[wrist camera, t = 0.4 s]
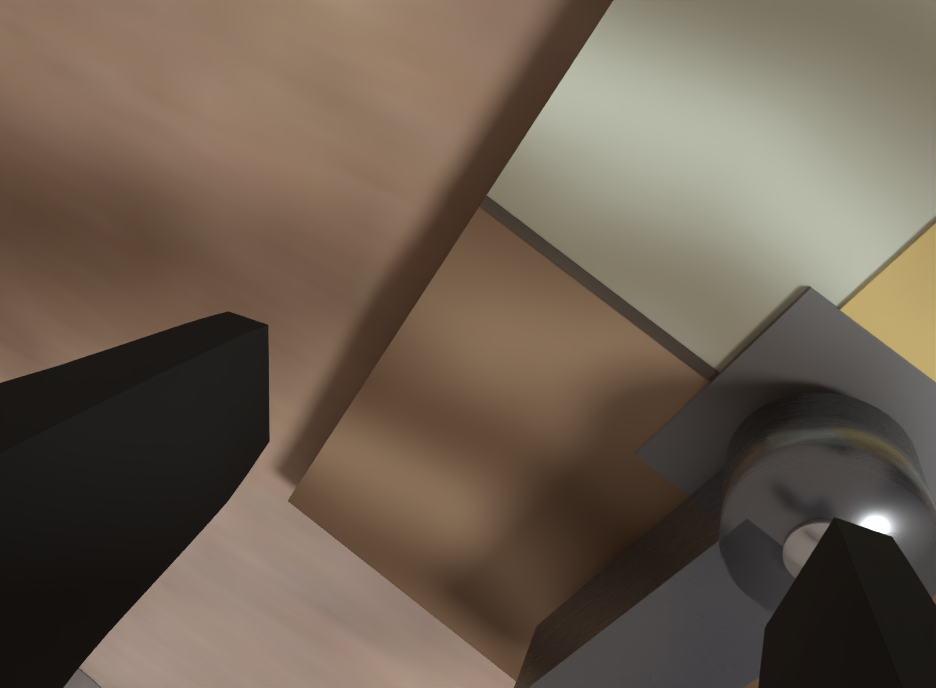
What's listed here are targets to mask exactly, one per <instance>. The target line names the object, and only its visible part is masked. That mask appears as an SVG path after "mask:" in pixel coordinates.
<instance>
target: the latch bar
mask: <svg viewBox="0 0 936 688" xmlns="http://www.w3.org/2000/svg"><path fill="white" fill-rule="evenodd" d="M834 517H836V518H839V519H842V520H845V521H848V522H851V523H854V524H857V525H860V526H863V527H866V528H869V529H871V530H874V531H877V532H880V533H883V534H886V535H889V536H892V537H893V539H894V540H895V542H896V543H897V545H898V546H899V548H900V549H901V551H902V552H903V554H904V555H905V557H906V558H907V560H908V561H909V563H910V564H911V566H912V568H913V569H914V571H915V572H916V574H917V575H918V577H919V579H920V580H921V582H922V583H923V585H924V587H925V588H926V590H927V591H928V593H929V595H930V596H931V598H932V597H933V596H934V595H935V594H936V509H935V506H934V503H933V500H932V497H931V494H930V491H929V488H928V485H927V482H926V479H925V476H924V473H923V470H922V467H921V464H920V461H919V458H918V455H917V452H916V450H915V447H914V445H913V443H912V441H911V439H910V438H909V436H908V435H907V433H906V432H905V431H904V430H903V428H902V427H901V426H900V425H899V424H898V423H897V422H896V421H895V420H894V419H892V418H891V417H890V416H889V415H888V414H886V413H885V412H883V411H881V410H880V409H878V408H877V407H875V406H873V405H871V404H869V403H866V402H864V401H861V400H858V399H856V398H852V397H848V396H844V395H839V394H832V393H802V394H797V395H791V396H787V397H784V398H780V399H777V400H775V401H772V402H770V403H768V404H766V405H764V406H762V407H760V408H759V409H757V410H756V411H754V412H753V413H752V414H750V415H749V416H748V417H747V418H746V419H745V420H744V421H743V422H742V423H741V424H740V425H739V427H738V428H737V429H736V431H735V432H734V434H733V436H732V438H731V440H730V442H729V445H728V448H727V453H726V460H725V467H723V468H722V469H721V470H720V471H719V472H717V473H716V474H715V475H714V476H713V477H712V478H710V479H709V480H708V481H707V482H706V483H705V484H703V485H702V486H701V487H700V488H699V489H697V490H696V491H695V492H694V493H693V494H692V495H690V496H689V497H688V498H687V499H686V500H684V501H683V502H682V503H681V504H680V505H679V506H677V507H676V508H675V509H674V510H673V511H671V512H670V513H669V514H668V515H667V516H666V517H664V518H663V519H662V520H661V521H660V522H659V523H657V524H656V525H655V526H654V527H653V528H651V529H650V530H649V531H648V532H647V533H646V534H644V535H643V536H642V537H641V538H640V539H638V540H637V541H636V542H635V543H634V544H633V545H631V546H630V547H629V548H628V549H627V550H625V551H624V552H623V553H622V554H621V555H620V556H618V557H617V558H616V559H615V560H614V561H613V562H611V563H610V564H609V565H608V566H607V567H605V568H604V569H603V570H602V571H601V572H600V573H598V574H597V575H596V576H595V577H594V578H592V579H591V580H590V581H589V582H588V583H587V584H585V585H584V586H583V587H582V588H581V589H579V590H578V591H577V592H576V593H575V594H574V595H572V596H571V597H570V598H569V599H568V600H566V601H565V602H564V603H563V604H562V605H561V606H559V607H558V608H557V609H556V610H555V611H554V612H552V613H551V614H550V615H549V616H548V617H546V618H545V619H544V620H543V621H542V622H541V623H539V624H538V625H537V626H536V629H535V632H534V634H533V637H532V640H531V643H530V645H529V648H528V651H527V653H526V656H525V659H524V662H523V664H522V667H521V670H520V673H519V675H518V678H517V681H516V684H515V686H514V688H743V687H744V686H746V685H748V684H749V683H751V682H753V681H754V680H756V679H758V678H759V675H760V665H761V657H762V648H763V639H764V630H765V626H766V625H767V623H768V622H769V620H770V618H771V617H772V615H773V614H774V612H775V611H776V609H777V607H778V606H779V604H780V603H781V601H782V599H783V598H784V596H785V595H786V593H787V591H788V590H789V588H790V587H791V585H792V583H793V582H794V580H795V579H796V577H797V576H798V574H799V572H800V571H801V569H802V568H803V566H804V564H805V563H806V561H807V560H808V558H809V556H810V555H811V553H812V552H813V550H814V548H815V547H816V545H817V544H818V542H819V540H820V539H821V537H822V536H823V534H824V533H825V531H826V529H827V528H828V526H829V525H830V523H831V521H832V520H833V518H834Z"/></svg>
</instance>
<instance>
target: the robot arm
mask: <svg viewBox="0 0 936 688" xmlns="http://www.w3.org/2000/svg"><path fill="white" fill-rule="evenodd" d="M268 443H269V346H268V325H267V324H264V323H261V322H258V321H255V320H252V319H249V318H246V317H243V316H240V315H237V314H234V313H231V312H225V313H221V314H217V315H213V316H209V317H206V318H202V319H199V320H196V321H193V322H189V323H186V324H183V325H180V326H177V327H174V328H171V329H168V330H165V331H162V332H159V333H156V334H153V335H150V336H147V337H144V338H141V339H138V340H135V341H132V342H129V343H126V344H123V345H120V346H117V347H114V348H111V349H108V350H105V351H102V352H99V353H96V354H93V355H89V356H86V357H83V358H80V359H77V360H74V361H71V362H68V363H65V364H62V365H59V366H56V367H53V368H49V369H46V370H43V371H39V372H36V373H32V374H29V375H26V376H22V377H19V378H15V379H12V380H9V381H5V382H2V383H0V688H64V687H65V685H66V684H67V683H68V681H69V680H70V679H71V677H72V676H73V675H74V673H75V672H76V671H77V669H78V668H79V667H80V666H81V664H82V663H83V662H84V661H85V660H86V658H87V657H88V656H89V655H90V654H91V652H92V651H93V650H94V649H95V648H96V647H97V645H98V644H99V643H100V642H101V641H102V639H103V638H104V637H105V636H106V635H107V634H108V632H109V631H110V630H111V629H112V628H113V627H114V626H115V625H116V624H117V623H118V622H119V620H120V619H121V618H122V617H123V616H124V615H125V614H126V613H127V612H128V611H129V610H130V608H131V607H132V606H133V605H134V604H135V603H136V602H137V601H138V600H139V599H140V598H141V596H142V595H143V594H144V593H145V592H146V591H147V590H148V589H149V588H150V587H151V586H152V584H153V583H154V582H155V581H156V580H157V579H158V578H159V577H160V576H161V575H162V574H163V572H164V571H165V570H166V569H167V568H168V567H169V566H170V565H171V564H172V563H173V562H174V560H175V559H176V558H177V557H178V556H179V555H180V554H181V553H182V552H183V551H184V550H185V549H186V547H187V546H188V545H189V544H190V543H191V542H192V541H193V540H194V539H195V537H196V536H197V535H198V534H199V533H200V532H201V531H202V530H203V529H204V527H205V526H206V525H207V524H208V523H209V522H210V521H211V520H212V519H213V517H214V516H215V515H216V514H217V513H218V512H219V511H220V510H221V508H222V507H223V506H224V505H225V504H226V503H227V502H228V500H229V499H230V498H231V496H232V495H233V493H234V492H235V491H236V489H237V488H238V486H239V485H240V484H241V482H242V481H243V480H244V478H245V477H246V475H247V474H248V473H249V471H250V470H251V468H252V467H253V465H254V464H255V462H256V461H257V459H258V458H259V456H260V455H261V453H262V452H263V450H264V449H265V447H266V446H267V444H268ZM758 688H936V604H935V603H934V601H933V599H932V598H931V596H930V595H929V593H928V591H927V590H926V588H925V587H924V585H923V583H922V582H921V580H920V579H919V577H918V575H917V574H916V572H915V571H914V569H913V568H912V566H911V564H910V563H909V561H908V560H907V558H906V557H905V555H904V554H903V552H902V551H901V549H900V548H899V546H898V545H897V543H896V542H895V540H894V539H893V537H892V536H889V535H886V534H883V533H880V532H877V531H874V530H871V529H869V528H866V527H863V526H860V525H857V524H854V523H851V522H848V521H845V520H842V519H839V518H836V517H834V518H833V520H832V521H831V523H830V525H829V526H828V528H827V529H826V531H825V533H824V534H823V536H822V537H821V539H820V540H819V542H818V544H817V545H816V547H815V548H814V550H813V552H812V553H811V555H810V556H809V558H808V560H807V561H806V563H805V564H804V566H803V568H802V569H801V571H800V572H799V574H798V576H797V577H796V579H795V580H794V582H793V583H792V585H791V587H790V588H789V590H788V591H787V593H786V595H785V596H784V598H783V599H782V601H781V603H780V604H779V606H778V607H777V609H776V611H775V612H774V614H773V615H772V617H771V618H770V620H769V622H768V623H767V625H766V626H765V630H764V639H763V648H762V657H761V665H760V675H759V686H758Z"/></svg>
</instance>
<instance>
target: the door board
mask: <svg viewBox="0 0 936 688" xmlns="http://www.w3.org/2000/svg"><path fill="white" fill-rule="evenodd" d="M802 393H832V394H839V395H844V396H848V397H852V398H856V399H858V400H861V401H864V402H866V403H869V404H871V405H873V406H875V407H877V408H878V409H880V410H881V411H883V412H885V413H886V414H888V415H889V416H890V417H891V418H892V419H894V420H895V421H896V422H897V423H898V424H899V425H900V426H901V427H902V428H903V430H904V431H905V432H906V433H907V435H908V436H909V438H910V439H911V441H912V443H913V445H914V447H915V450H916V452H917V455H918V458H919V461H920V464H921V467H922V470H923V473H924V476H925V479H926V482H927V485H928V488H929V491H930V494H931V497H932V500H933V503H934V506H935V509H936V0H613V2H612V3H611V5H610V6H609V8H608V10H607V11H606V13H605V14H604V16H603V17H602V19H601V20H600V22H599V23H598V25H597V26H596V28H595V30H594V31H593V33H592V34H591V36H590V37H589V39H588V40H587V42H586V43H585V45H584V46H583V48H582V49H581V51H580V53H579V54H578V56H577V57H576V59H575V60H574V62H573V63H572V65H571V66H570V68H569V69H568V71H567V73H566V74H565V76H564V77H563V79H562V80H561V82H560V83H559V85H558V86H557V88H556V89H555V91H554V92H553V94H552V96H551V97H550V99H549V100H548V102H547V103H546V105H545V106H544V108H543V109H542V111H541V112H540V114H539V116H538V117H537V119H536V120H535V122H534V123H533V125H532V126H531V128H530V129H529V131H528V132H527V134H526V135H525V137H524V139H523V140H522V142H521V143H520V145H519V146H518V148H517V149H516V151H515V152H514V154H513V155H512V157H511V159H510V160H509V162H508V163H507V165H506V166H505V168H504V169H503V171H502V172H501V174H500V175H499V177H498V178H497V180H496V182H495V183H494V185H493V186H492V188H491V189H490V191H489V192H488V194H487V195H486V196H485V198H484V199H483V201H482V202H481V204H480V205H479V208H478V209H477V211H476V212H475V214H474V215H473V217H472V218H471V220H470V222H469V223H468V225H467V226H466V228H465V229H464V231H463V232H462V234H461V235H460V237H459V238H458V240H457V241H456V243H455V245H454V246H453V248H452V249H451V251H450V252H449V254H448V255H447V257H446V258H445V260H444V261H443V263H442V265H441V266H440V268H439V269H438V271H437V272H436V274H435V275H434V277H433V278H432V280H431V281H430V283H429V284H428V286H427V288H426V289H425V291H424V292H423V294H422V295H421V297H420V298H419V300H418V301H417V303H416V304H415V306H414V308H413V309H412V311H411V312H410V314H409V315H408V317H407V318H406V320H405V321H404V323H403V324H402V326H401V327H400V329H399V331H398V332H397V334H396V335H395V337H394V338H393V340H392V341H391V343H390V344H389V346H388V347H387V349H386V351H385V352H384V354H383V355H382V357H381V358H380V360H379V361H378V363H377V364H376V366H375V367H374V369H373V371H372V372H371V374H370V375H369V377H368V378H367V380H366V381H365V383H364V384H363V386H362V387H361V389H360V390H359V392H358V394H357V395H356V397H355V398H354V400H353V401H352V403H351V404H350V406H349V407H348V409H347V410H346V412H345V414H344V415H343V417H342V418H341V420H340V421H339V423H338V424H337V426H336V427H335V429H334V430H333V432H332V433H331V435H330V437H329V438H328V440H327V441H326V443H325V444H324V446H323V447H322V449H321V450H320V452H319V453H318V455H317V457H316V458H315V460H314V461H313V463H312V464H311V466H310V467H309V469H308V470H307V472H306V473H305V475H304V476H303V478H302V480H301V481H300V483H299V484H298V486H297V487H296V489H295V490H294V492H293V493H292V495H291V496H290V498H289V500H288V501H289V502H290V503H291V504H292V505H294V506H295V507H296V508H297V509H299V510H300V511H301V512H302V513H304V514H305V515H306V516H308V517H309V518H310V519H311V520H313V521H314V522H315V523H316V524H318V525H319V526H320V527H321V528H323V529H324V530H325V531H327V532H328V533H329V534H330V535H332V536H333V537H334V538H335V539H337V540H338V541H339V542H340V543H342V544H343V545H344V546H346V547H347V548H348V549H349V550H351V551H352V552H353V553H354V554H356V555H357V556H358V557H359V558H361V559H362V560H363V561H365V562H366V563H367V564H368V565H370V566H371V567H372V568H373V569H375V570H376V571H377V572H378V573H380V574H381V575H382V576H384V577H385V578H386V579H387V580H389V581H390V582H391V583H392V584H394V585H395V586H396V587H397V588H399V589H400V590H401V591H403V592H404V593H405V594H406V595H408V596H409V597H410V598H411V599H413V600H414V601H415V602H416V603H418V604H419V605H420V606H422V607H423V608H424V609H425V610H427V611H428V612H429V613H430V614H432V615H433V616H434V617H435V618H437V619H438V620H439V621H441V622H442V623H443V624H444V625H446V626H447V627H448V628H449V629H451V630H452V631H453V632H454V633H456V634H457V635H458V636H460V637H461V638H462V639H463V640H465V641H466V642H467V643H468V644H470V645H471V646H472V647H473V648H475V649H476V650H477V651H479V652H480V653H481V654H482V655H484V656H485V657H486V658H487V659H489V660H490V661H491V662H492V663H494V664H495V665H496V666H498V667H499V668H500V669H501V670H503V671H504V672H505V673H506V674H508V675H509V676H510V677H511V678H513V679H514V680H515V681H517V678H518V675H519V673H520V670H521V667H522V664H523V662H524V659H525V656H526V653H527V651H528V648H529V645H530V643H531V640H532V637H533V634H534V632H535V629H536V626H537V625H538V624H539V623H541V622H542V621H543V620H544V619H545V618H546V617H548V616H549V615H550V614H551V613H552V612H554V611H555V610H556V609H557V608H558V607H559V606H561V605H562V604H563V603H564V602H565V601H566V600H568V599H569V598H570V597H571V596H572V595H574V594H575V593H576V592H577V591H578V590H579V589H581V588H582V587H583V586H584V585H585V584H587V583H588V582H589V581H590V580H591V579H592V578H594V577H595V576H596V575H597V574H598V573H600V572H601V571H602V570H603V569H604V568H605V567H607V566H608V565H609V564H610V563H611V562H613V561H614V560H615V559H616V558H617V557H618V556H620V555H621V554H622V553H623V552H624V551H625V550H627V549H628V548H629V547H630V546H631V545H633V544H634V543H635V542H636V541H637V540H638V539H640V538H641V537H642V536H643V535H644V534H646V533H647V532H648V531H649V530H650V529H651V528H653V527H654V526H655V525H656V524H657V523H659V522H660V521H661V520H662V519H663V518H664V517H666V516H667V515H668V514H669V513H670V512H671V511H673V510H674V509H675V508H676V507H677V506H679V505H680V504H681V503H682V502H683V501H684V500H686V499H687V498H688V497H689V496H690V495H692V494H693V493H694V492H695V491H696V490H697V489H699V488H700V487H701V486H702V485H703V484H705V483H706V482H707V481H708V480H709V479H710V478H712V477H713V476H714V475H715V474H716V473H717V472H719V471H720V470H721V469H722V468H723V467H725V460H726V453H727V448H728V445H729V442H730V440H731V438H732V436H733V434H734V432H735V431H736V429H737V428H738V427H739V425H740V424H741V423H742V422H743V421H744V420H745V419H746V418H747V417H748V416H749V415H750V414H752V413H753V412H754V411H756V410H757V409H759V408H760V407H762V406H764V405H766V404H768V403H770V402H772V401H775V400H777V399H780V398H784V397H787V396H791V395H797V394H802ZM932 599H933V601H934V603H935V604H936V594H935V595H934V596H933V597H932ZM758 686H759V678H758V679H756V680H754V681H753V682H751V683H749V684H748V685H746V686H744V687H743V688H758Z"/></svg>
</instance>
